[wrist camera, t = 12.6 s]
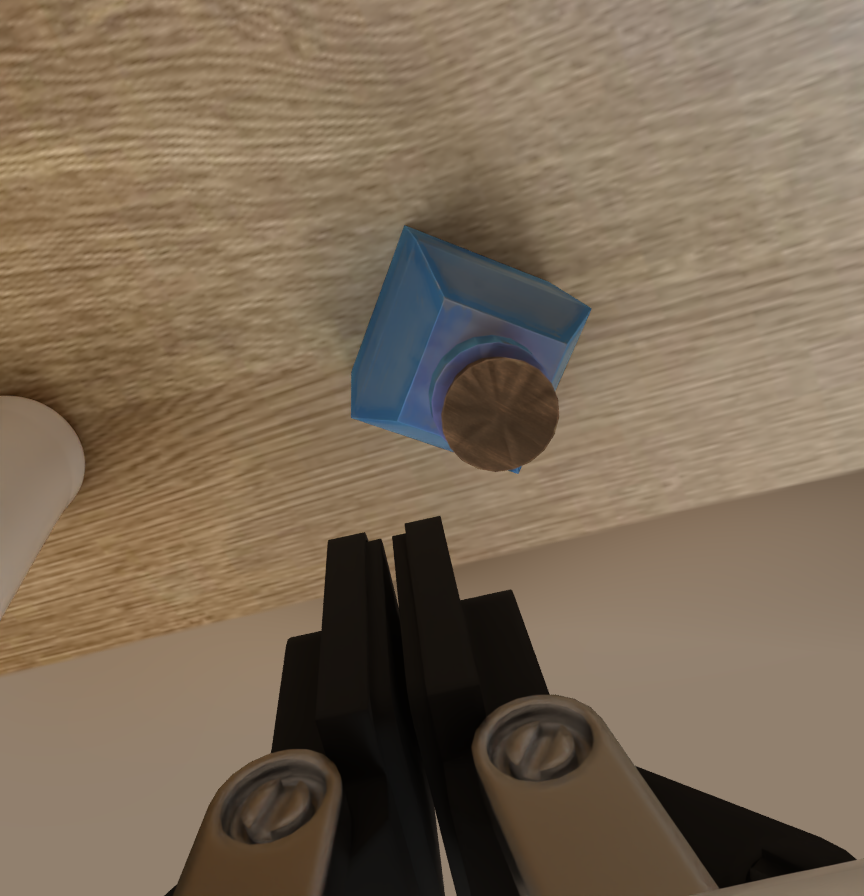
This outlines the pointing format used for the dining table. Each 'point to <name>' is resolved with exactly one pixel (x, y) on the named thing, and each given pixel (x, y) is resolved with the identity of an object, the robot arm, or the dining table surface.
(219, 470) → the dining table surface
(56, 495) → the drinking glass
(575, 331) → the perfume bottle
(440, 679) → the robot arm
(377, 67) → the dining table surface
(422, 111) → the dining table surface
